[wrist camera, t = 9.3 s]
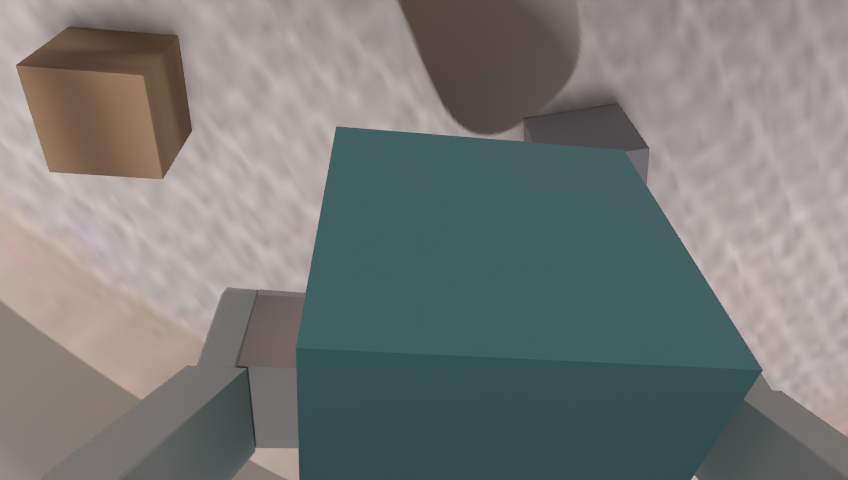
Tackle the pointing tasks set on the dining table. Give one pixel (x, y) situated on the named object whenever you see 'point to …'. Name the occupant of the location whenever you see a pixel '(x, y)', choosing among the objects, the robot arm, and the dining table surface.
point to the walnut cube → (108, 102)
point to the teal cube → (505, 319)
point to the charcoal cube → (591, 132)
